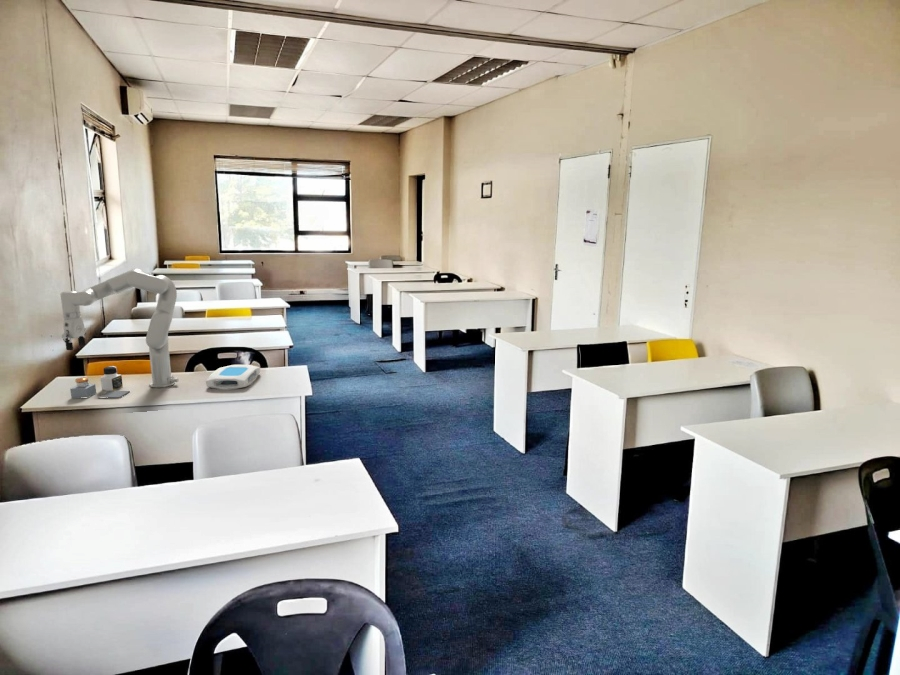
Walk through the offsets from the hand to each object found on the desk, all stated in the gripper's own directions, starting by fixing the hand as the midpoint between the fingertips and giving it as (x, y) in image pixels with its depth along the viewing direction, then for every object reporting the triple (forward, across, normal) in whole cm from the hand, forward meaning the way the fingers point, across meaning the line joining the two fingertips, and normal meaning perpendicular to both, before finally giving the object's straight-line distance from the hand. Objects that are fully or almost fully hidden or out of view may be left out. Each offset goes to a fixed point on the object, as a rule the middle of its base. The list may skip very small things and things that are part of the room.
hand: (76, 347), depth 306 cm
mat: (+24, -5, -20) cm, 32 cm away
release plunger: (+21, -7, -5) cm, 23 cm away
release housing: (+24, -6, -5) cm, 25 cm away
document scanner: (+24, +23, -72) cm, 80 cm away
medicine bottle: (+24, +6, -13) cm, 28 cm away
